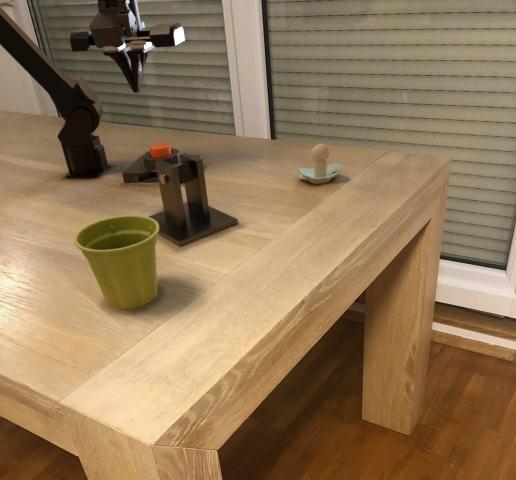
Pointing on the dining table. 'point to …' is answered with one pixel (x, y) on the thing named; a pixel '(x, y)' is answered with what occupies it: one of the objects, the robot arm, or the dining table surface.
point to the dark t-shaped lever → (183, 168)
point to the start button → (160, 150)
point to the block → (150, 165)
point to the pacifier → (320, 166)
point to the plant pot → (122, 258)
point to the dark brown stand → (187, 205)
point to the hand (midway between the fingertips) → (136, 92)
